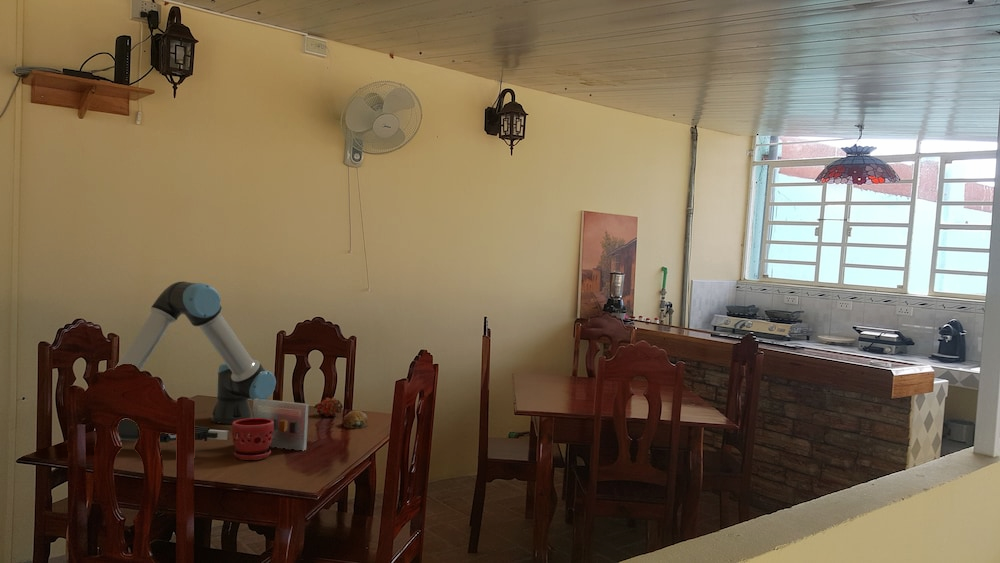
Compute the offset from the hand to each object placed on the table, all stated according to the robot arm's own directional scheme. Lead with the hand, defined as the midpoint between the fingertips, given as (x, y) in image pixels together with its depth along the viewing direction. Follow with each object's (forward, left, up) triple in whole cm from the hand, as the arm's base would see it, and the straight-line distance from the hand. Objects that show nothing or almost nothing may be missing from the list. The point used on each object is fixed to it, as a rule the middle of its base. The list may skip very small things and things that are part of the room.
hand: (228, 435), depth 238 cm
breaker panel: (+10, +15, -7) cm, 20 cm away
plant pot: (+8, +1, -7) cm, 11 cm away
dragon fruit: (+4, +67, -7) cm, 68 cm away
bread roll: (+21, +56, -7) cm, 60 cm away
